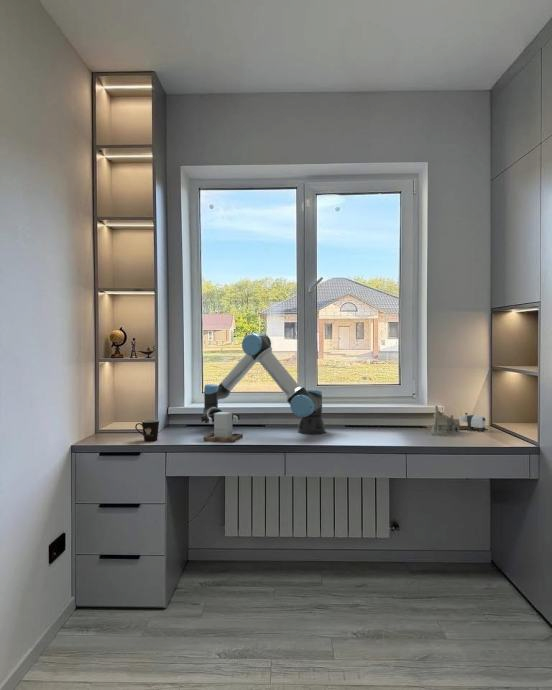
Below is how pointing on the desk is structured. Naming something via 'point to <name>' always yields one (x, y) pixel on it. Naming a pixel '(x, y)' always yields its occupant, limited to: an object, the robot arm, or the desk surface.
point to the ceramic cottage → (444, 425)
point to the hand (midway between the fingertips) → (224, 420)
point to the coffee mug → (149, 430)
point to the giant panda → (474, 421)
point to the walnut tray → (216, 439)
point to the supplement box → (223, 424)
